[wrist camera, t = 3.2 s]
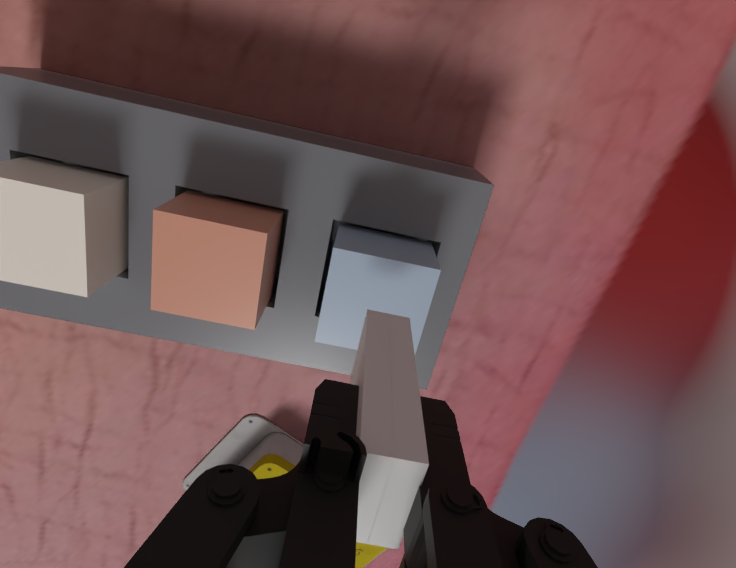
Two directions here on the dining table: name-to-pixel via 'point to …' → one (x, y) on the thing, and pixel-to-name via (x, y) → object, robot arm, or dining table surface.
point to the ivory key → (62, 225)
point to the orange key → (214, 258)
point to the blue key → (375, 283)
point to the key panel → (246, 184)
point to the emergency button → (265, 461)
